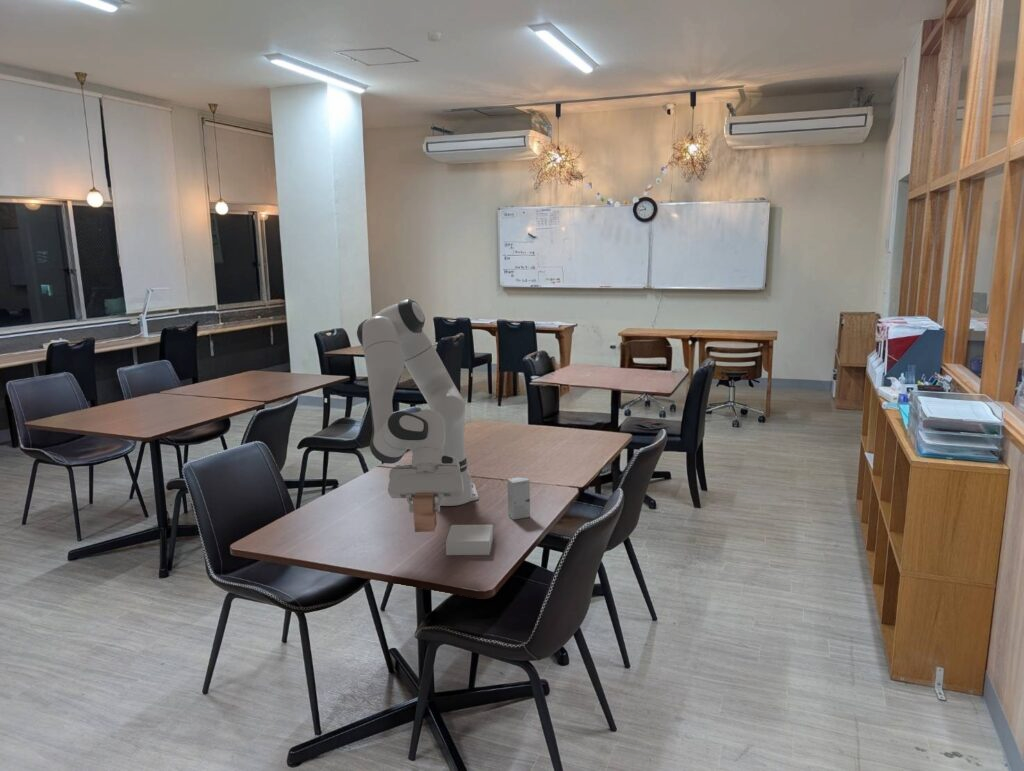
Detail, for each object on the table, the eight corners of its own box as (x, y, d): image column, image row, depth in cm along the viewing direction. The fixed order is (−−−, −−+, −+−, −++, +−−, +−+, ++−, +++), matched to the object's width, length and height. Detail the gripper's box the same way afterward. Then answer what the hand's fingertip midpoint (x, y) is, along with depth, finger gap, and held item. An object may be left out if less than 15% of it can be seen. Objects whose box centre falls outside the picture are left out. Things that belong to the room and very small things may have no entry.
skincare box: (513, 520, 217) (512, 482, 214) (507, 515, 221) (506, 478, 218) (531, 516, 219) (530, 479, 217) (525, 512, 223) (524, 476, 221)
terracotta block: (418, 524, 188) (415, 492, 186) (436, 524, 187) (434, 492, 186) (414, 532, 183) (412, 499, 181) (433, 531, 182) (431, 498, 181)
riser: (452, 537, 204) (451, 524, 203) (493, 537, 204) (492, 524, 203) (446, 555, 192) (445, 541, 192) (489, 554, 192) (489, 541, 191)
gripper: (387, 460, 189) (382, 507, 181) (462, 458, 188) (460, 505, 180) (392, 471, 194) (387, 517, 187) (465, 468, 193) (463, 515, 186)
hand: (424, 511), depth 183 cm, fingers closed on terracotta block, 5 cm apart
